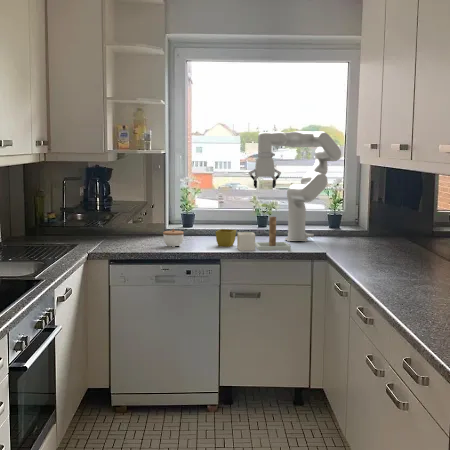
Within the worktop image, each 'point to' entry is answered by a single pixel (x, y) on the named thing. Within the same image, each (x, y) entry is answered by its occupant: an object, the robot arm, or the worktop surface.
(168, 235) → the lidded jar
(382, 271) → the worktop surface
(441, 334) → the worktop surface
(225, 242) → the flower pot
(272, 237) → the dowel
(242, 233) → the white square holder
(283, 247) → the tray
